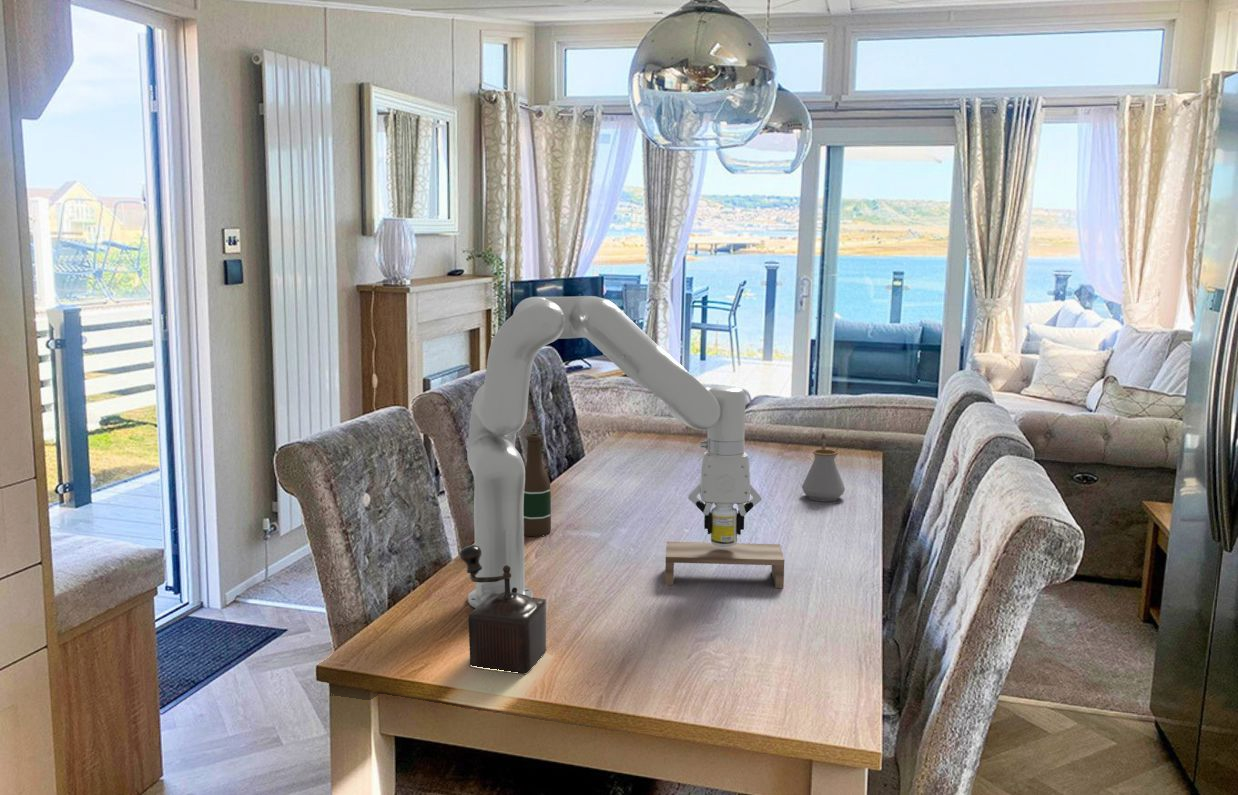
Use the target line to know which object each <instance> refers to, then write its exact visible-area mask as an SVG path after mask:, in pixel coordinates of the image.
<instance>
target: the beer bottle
mask: <svg viewBox="0 0 1238 795" xmlns="http://www.w3.org/2000/svg"><path fill="white" fill-rule="evenodd" d="M525 439H526V441H527V448H526V452H527V453H526V465H525V488H524V535H526V536H525V537H528V536H542V537H544V536H543V535H545V536H547V535H550V534H551V532H552V514H551V513H552V512H551V511H552V509H551V507H552V505H551V503H552V502H551V498H552V497H551V496H552V495H551V493H552V492H551V491H552V490H551V489H552V488H551V481H550V477H549V475H548V473H547V471H546V470H545V468H544V465H543V455H542V440H543V439H542V435H541V434H539V433H531V434H527V435H526V438H525ZM549 533H550V534H549ZM546 534H547V535H546Z"/></svg>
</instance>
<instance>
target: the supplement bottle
mask: <svg viewBox="0 0 1238 795" xmlns="http://www.w3.org/2000/svg"><path fill="white" fill-rule="evenodd" d="M714 505H715V506H714V507H711V510H710V512H711V516H712V517H711V533H710V543H712V544H713V545H716V546H721V547H729V546H733V545H735V544H736V543H738V534H737V513H738V510H737V508H736V507H735V506H734V505H735V504H722V503H714Z"/></svg>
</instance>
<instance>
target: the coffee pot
mask: <svg viewBox="0 0 1238 795" xmlns="http://www.w3.org/2000/svg"><path fill="white" fill-rule="evenodd" d="M820 436H821V437H820V440H821V449H819V448H818V449H814V450H813V451H812V454H813V455H814V460H813V462H812V464H811V466H810V468H809V471H808V472H807V475H806V477H805V478H804V481H803V483H802V485H801V488H802V491H803V494H805V496H807V497H808V498H809V500H813V501H816V502H834V501H837V500H838V498H840V497H841V496H842V495H843V494H844V492H845V490H846V488H845V484H844V483H843V479H842V477H841V475H840V472H839V469H838V467H837V464H836V461H835V459H836V457H837V455H838V454H839V452H838V451H836V450H832V449H826V447H827V446H826V445H827V441H826V440H827V439H828V437H829V436H828V435H827V434H826V433H824V432H823V433H821V434H820Z"/></svg>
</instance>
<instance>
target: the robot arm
mask: <svg viewBox="0 0 1238 795" xmlns="http://www.w3.org/2000/svg"><path fill="white" fill-rule="evenodd" d="M580 338H581V339H582V338H585V339H587V341H589V342H590V343H591V344H592V345H594V346H595V347H596V348H597V349H598V350H599V351H600V352H601V353H602V354H604V356H606V357H607V359H609V360H610V362H612V363H613V364H614V365H615V366H616V367H618V369H620V370H621V371H622V372H623V373H624V374H625V375H626V376H627V377H628V378H630V379H631V380H632V381H633V382H635V383H636V384H637V385H639V386H641V387H643V388H644V389H646V390H648V391H649V392H651V393H652V394H654V395H655V396H656V397H657V398H659V399H660V400H661V401H662V402H664V403H665V404H666V405H667V409H668V412H669V414H670V415H671V416H672V418H674V419H676V420H677V421H679V422H680V423H682V424H684V425H685V426H688V427H690V428H691V429H693V430H697V431H706V430H707V439H705V440H703V441H702V440H701V441H699V442H700V446H699V447H700V448H701V449H702V448H704V449H705V450H706V451H705V452H704V453H703V456H702V461H701V469H700V480H699V481H700V482H699V483H698V484H697V485H696V486H695V488H693V489H692V491H691V492H690V493H689V494H688V497H687V498H688V500H689V501H690V502H691V503H693V504H694V506H695V507H697V508H698V509H699V510H700V512H702V513H703V515H704V522H703V526H704V527H703V529H704V530H707V535H711V517H712V516H711V510H712V508H713V507H712V506H713V504H715V503H722V504H734V505H737V508H738V510H737V536H740V535H741V534H742V532H741V531H742V530H744V529H745V516H747V514H748V512H750V511H751V510H752V509H753V508H754V507H755V506H757V504H759V503H760V502H761V501H762V496H761V495H760V494H759V492H758V491H757V490H756V489H755V488H754V487H753V486H752V484H751V470H750V469H751V468H750V460H749V459H750V458H749V455H748V453H747V452H745V435H746V434H745V433H746V432H745V431H746V430H745V428H746V426H745V425H746V393H745V390H744V389H743V388H742V387H738V386H731V385H726V386H725V385H721V386H714V387H705V386H704V385H703V383H701V382H700V381H699V380H698V379H697V378H696V377H694V375H692V374H691V373H690V372H689V371H688V370H687V369H686V368H684V366H682V364H680V363H678V361H676V360H675V359H674V358H673V357H672V356H671V355H670V354H669V353H668V352H667V351H665V350H664V349H663V348H662V347H661V346H659V344H657V343H656V342H655V341H654V340H653V339H652V338H651V337H650V336H649V335H648V334H647V333H646V332H645V331H644V330H643V329H641V327H639V326H638V325H637V324H636V323H635V322H634V321H633V320H632V319H631V318H630V317H629V316H628V315H627V314H626V313H625V312H624V311H623V310H622V309H621V308H619V307H618V306H617V305H616V304H615V303H613V302H612V301H611V300H609V299H606V298H603V297H599V296H595V295H587V296H586V295H584V296H583V295H582V296H579V295H578V296H577V295H576V296H530V297H527V298H524V299H523V300H521V301H520V302H519V303H517V305H516V306H515V308H514V310H513V313H512V315H511V316H510V317H509V318H507V319H506V320H505V321H504V322H503V324H502V325H501V326H500V327H499V328H498V329H497V331H496V332H495V335H494V336H493V338H492V341H491V343H490V346H489V350H488V355H487V363H486V367H485V368H486V369H485V374H484V381H483V382H484V383H483V384H482V385H481V386H480V387H479V388H478V389H477V390H476V392H475V394H474V397H473V399H472V404H471V409H470V410H471V411H470V420H469V431H468V439H467V440H468V441H467V449H466V450H467V453H466V454H467V456H466V457H467V464H468V467H469V469H470V471H471V472H472V475H473V484H474V488H473V489H474V491H473V493H474V494H473V525H474V526H473V527H474V528H473V530H474V545H476V546H478V547H479V548H480V549H481V551H482V552H481V557H480V560H479V563H480V565H481V566H482V570H480V571H478V573H477V575H476V577H497V576H502V575H503V573H504V571H503V567H504V566H505V565H509V567H510V568H511V569H510V573H511V575H512V577H511V578H510V592H512V588H514V587H515V588H517V593H518V594H523V595H527V596H529V597H531V598H534V593H533V591H532V590H531V589H530V588H529V587H526V586H525V584H526V582H525V581H526V579H525V577H526V576H525V572H526V571H525V569H526V568H525V536H524V488H525V468H526V465H525V463H524V460H523V458H522V455H521V453H520V452H519V451H518V450H517V448H516V439H517V433H518V432H520V431H521V429H522V428H523V427H524V425H525V423H526V420H527V416H528V407H529V394H530V384H531V376H532V370H533V366H534V361H535V359H536V357H537V354H538V353H539V352H540V351H541V350H542V349H543V348H544V347H546V346H547V345H549V344H551V343H553V342H555V341H556V340H558V339H563V340H564V339H580ZM698 496H699V497H700V499H699V497H698ZM751 497H752V498H751ZM503 592H505V582H504V579H503V580H500V581H497V582H482V583H479V582H475V588H474V589H473V590H472V591H470V592H469V594H468V595H467V601H468V604H469V605H470V606H471V607H473V608H474V609H475V608H476V607H477V606H479V605H480V604H481V603H482V602H483V601H484V600H485V599H487V598H488V597H489V596H490V595H491V594H493V593H496V594H501V593H503Z"/></svg>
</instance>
